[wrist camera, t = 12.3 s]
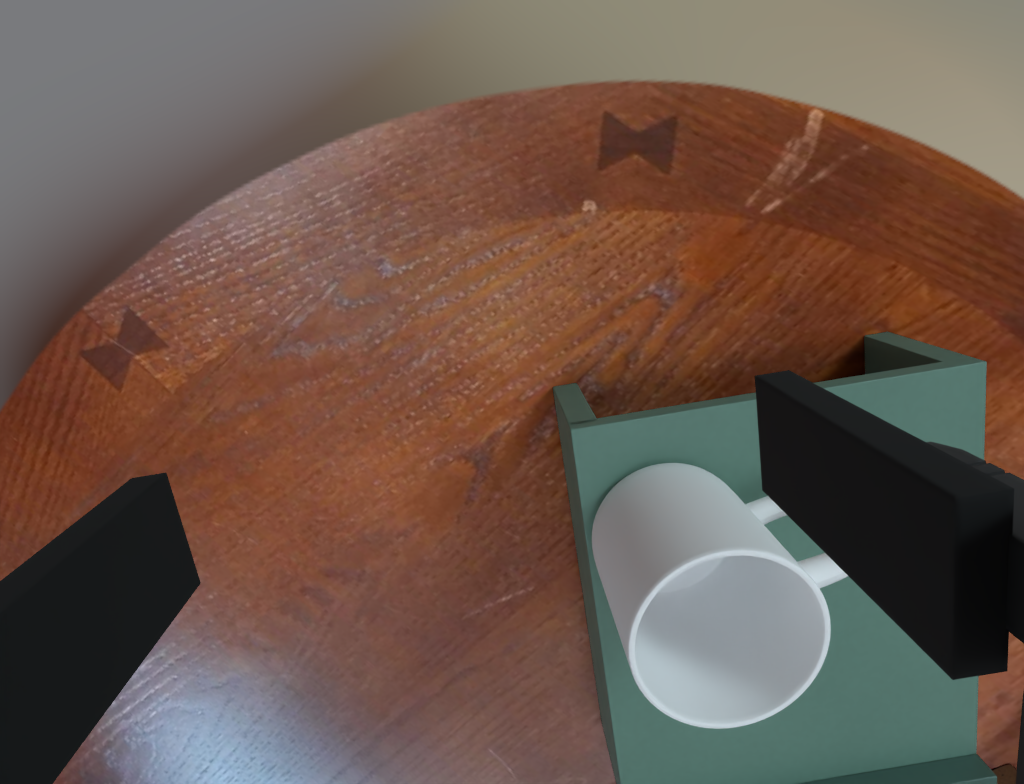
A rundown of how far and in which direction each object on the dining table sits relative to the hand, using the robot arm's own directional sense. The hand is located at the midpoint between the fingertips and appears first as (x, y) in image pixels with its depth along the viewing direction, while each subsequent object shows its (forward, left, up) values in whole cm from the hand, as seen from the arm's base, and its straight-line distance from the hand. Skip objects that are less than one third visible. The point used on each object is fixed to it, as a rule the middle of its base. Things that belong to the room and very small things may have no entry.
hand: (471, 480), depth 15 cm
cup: (+12, +10, -20) cm, 25 cm away
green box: (+19, +15, -29) cm, 37 cm away
